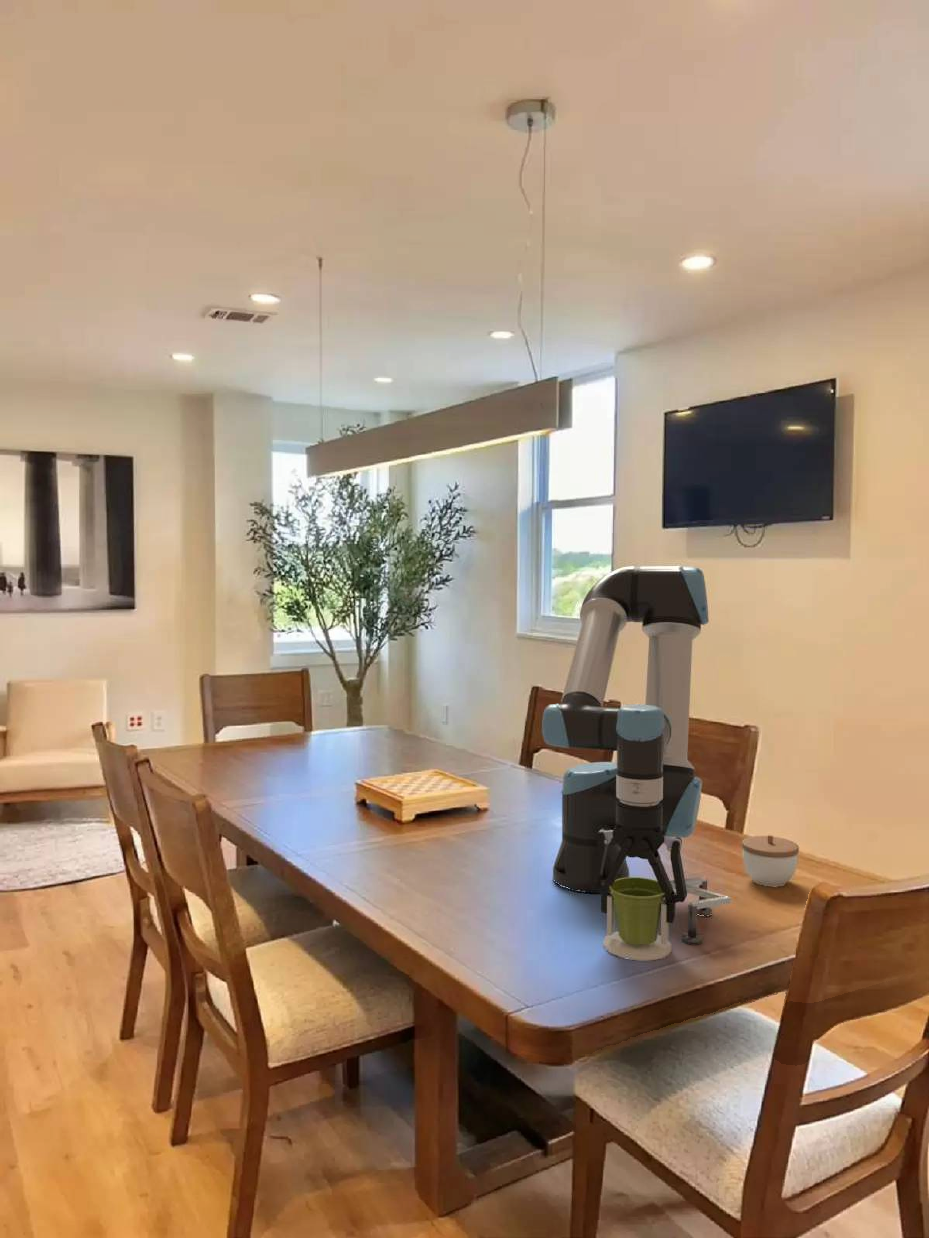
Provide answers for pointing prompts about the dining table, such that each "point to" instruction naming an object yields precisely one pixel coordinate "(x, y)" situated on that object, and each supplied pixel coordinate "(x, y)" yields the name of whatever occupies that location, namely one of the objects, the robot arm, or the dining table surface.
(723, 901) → the zigzag bar on posts
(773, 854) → the lidded jar
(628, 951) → the pad
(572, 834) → the robot arm
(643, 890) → the plant pot
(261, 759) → the dining table surface
